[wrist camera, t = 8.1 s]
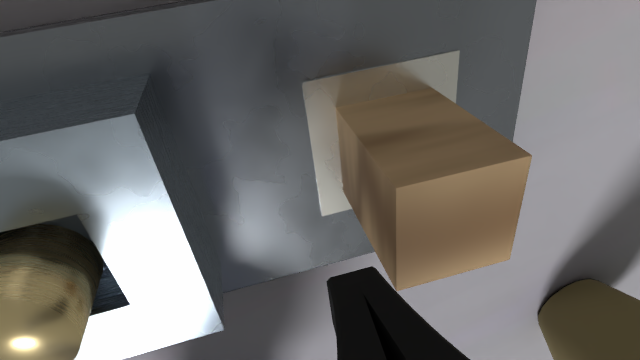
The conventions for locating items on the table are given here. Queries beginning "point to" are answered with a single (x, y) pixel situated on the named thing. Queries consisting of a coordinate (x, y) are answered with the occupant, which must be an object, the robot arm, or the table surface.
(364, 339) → the robot arm
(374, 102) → the oak block
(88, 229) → the base
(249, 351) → the table surface
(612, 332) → the squeeze bottle
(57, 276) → the pin
